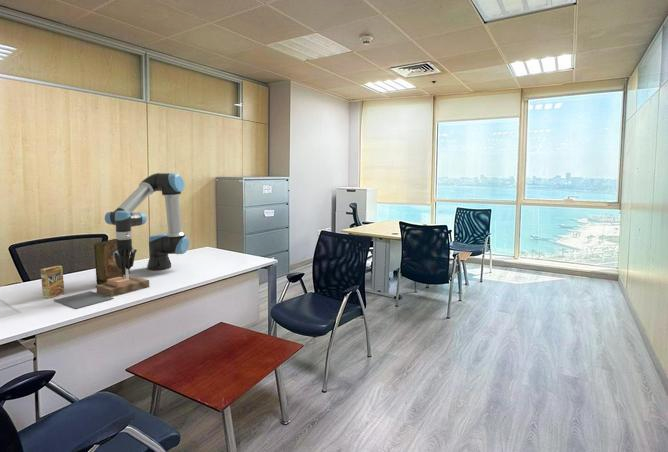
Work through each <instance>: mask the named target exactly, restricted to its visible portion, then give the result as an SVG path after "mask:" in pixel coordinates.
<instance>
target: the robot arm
mask: <svg viewBox="0 0 668 452" xmlns="http://www.w3.org/2000/svg"><path fill="white" fill-rule="evenodd" d="M184 188H185V182H184V179H183V177H182V176H181V175H180V174H179V173H174V172H173V173H172V172H170V173H167V172H166V173H164V172H163V173H161V172H156V173H153V174H151V175H149V176H147V177H145V178H144V179H143V180H142V181H141V182H140V183H139V185H138V187H137V188H136V189H135V190H134V191H133V192H132V193H131V194H130V195H129V196H128V197H126V199H125V200H124V201H122V203H121V204H120V205H118V207H117V208H116V209H115V210H114V211H108V212H106V213H105V214H104V221H105V223H106V224H108V225H111V226H112V225H113V226H115V239H117V240H116V243H117V249H116V252H113V253H112V254H113V256H114V257H115V260H116V263H117V267H118V268H119V269H122V275H123V278H126V279H129V278H130V276H129V274H130V273H131V269H132V267H134V264H135V262H134V261H135V257H136V253H137V251H138V250H137V249H135V248H133V245H132V244H133V241H132V227H138V226H143V225H144V224H146V222H147V220H148V219H147V215H146V214H145V213H144V212H142V211H141V212H138V211H137V212H134V211H135V210H136V209H137V208H138V207H139V205H141V203H143V202H144V201H145V200H146V198H147V197H148V196H149V195H150V196H151V195H153V194H154V193H155V192H161V195H162V197H163V198H164V202H165V211H166V221H167V233H160V234H159V233H158V234H153V235H152V234H151V235H150V236H148V252H149V258H148V262H147V264H146V267H147V268H146V269H147V270H149V271H161V270H168V269H171V268H172V262H171V260H170V257H169V255H183V254H185V253H187V251H188V249H189V247H190V240H189V238H188V237H187V236H186V234H185V232H184V231H183V225H182V216H181V215H182V214H181V206H180V205H181V204H180V195H181V194H182V191H184ZM118 253H119V254H120V258H121V261H120V258H119V256H118V255H119V254H118Z"/></svg>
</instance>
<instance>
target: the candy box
mask: <svg viewBox="0 0 668 452" xmlns="http://www.w3.org/2000/svg"><path fill="white" fill-rule="evenodd" d="M63 271H64V270H63V266H62V265H54V266H50V267H44V268H40V278H41V279H40V281H41V288H42V289H41V291H42V297H43V299H44V298H46V299H49V298H53V297H58V296H62V295H65V293H66V292H65V284H64V283H65V282H64V273H63Z"/></svg>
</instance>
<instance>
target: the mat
mask: <svg viewBox="0 0 668 452" xmlns="http://www.w3.org/2000/svg"><path fill="white" fill-rule="evenodd" d="M111 300H114V297H109V296H106V295H103V294H100V293H97V291H96V292H95V291H92V290H89V291H88V290H87V291H85V292H81V293H76V294H73V295H68V296H64V297H59V298H56V299H53V301H54V302H56V303H59V304H61V305H64V306H67V307H70V308H71V309H74V310H78V309H81V308H86V307H89V306H92V305H96V304H101V303H104V302H107V301H111Z"/></svg>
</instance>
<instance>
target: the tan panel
mask: <svg viewBox="0 0 668 452" xmlns="http://www.w3.org/2000/svg"><path fill="white" fill-rule="evenodd" d="M129 279H130V284H128V285H124V286H120V287H116V286H113V285H110V284H108V283H105V284H100V285H97V284H96V286H95V287H96V288H95V289H96V293H99V294H102V295H105V296H108V297H112V298H114V297H117V296H121V295H125V294H129V293H132V292H137V291H139V290H144V289H147V288H150V287H151V286H150V280H149V279H146V278H142V277H138V276H131V277H129Z"/></svg>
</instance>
